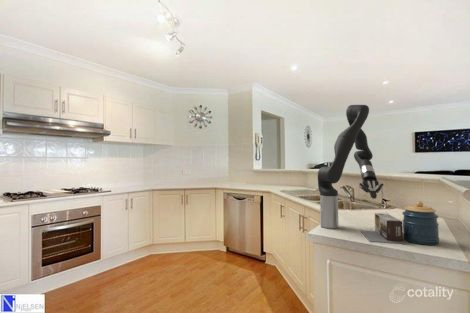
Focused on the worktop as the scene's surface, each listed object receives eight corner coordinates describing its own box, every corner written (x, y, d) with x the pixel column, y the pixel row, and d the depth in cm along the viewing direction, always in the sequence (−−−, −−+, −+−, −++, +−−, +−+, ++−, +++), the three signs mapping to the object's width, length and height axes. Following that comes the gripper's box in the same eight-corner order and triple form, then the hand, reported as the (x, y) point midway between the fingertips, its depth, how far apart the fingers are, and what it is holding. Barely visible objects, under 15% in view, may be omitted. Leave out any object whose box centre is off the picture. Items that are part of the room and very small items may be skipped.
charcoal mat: (369, 241, 107) (369, 240, 107) (360, 231, 123) (360, 230, 123) (408, 244, 103) (408, 243, 103) (393, 233, 119) (393, 232, 119)
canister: (428, 247, 99) (427, 204, 99) (396, 238, 111) (395, 200, 111) (446, 243, 104) (444, 202, 105) (413, 234, 116) (412, 198, 117)
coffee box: (388, 231, 121) (403, 242, 105) (374, 230, 122) (387, 241, 107) (388, 213, 121) (403, 221, 105) (374, 212, 122) (386, 220, 107)
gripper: (356, 170, 144) (361, 193, 132) (381, 170, 140) (389, 193, 128) (355, 178, 149) (360, 201, 137) (379, 178, 145) (386, 202, 133)
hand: (374, 197), depth 132 cm, fingers closed
